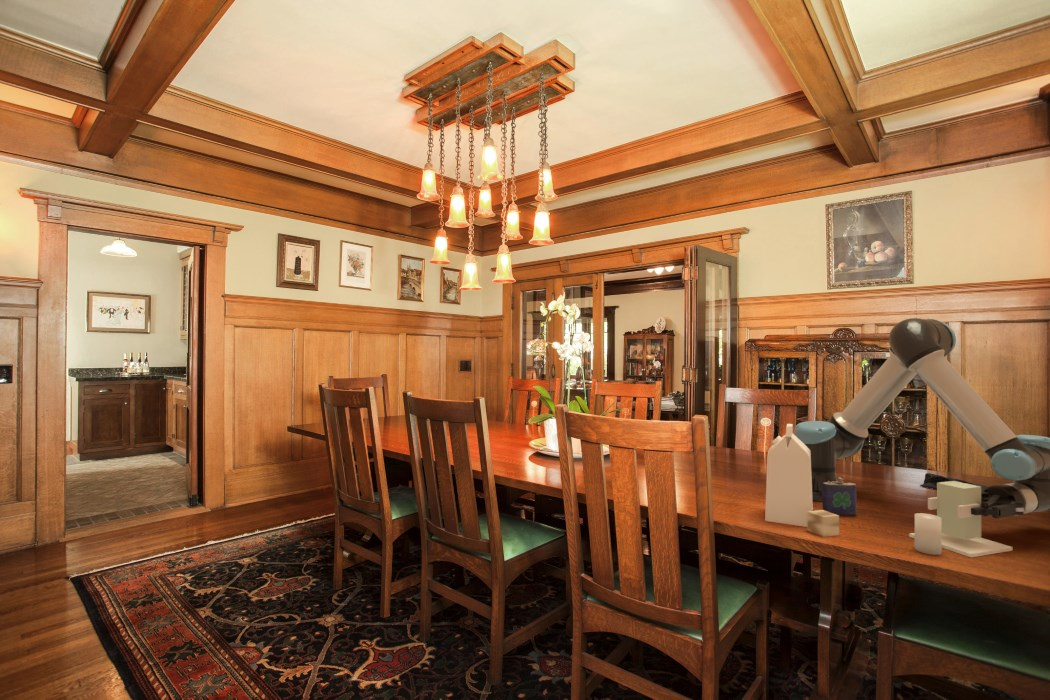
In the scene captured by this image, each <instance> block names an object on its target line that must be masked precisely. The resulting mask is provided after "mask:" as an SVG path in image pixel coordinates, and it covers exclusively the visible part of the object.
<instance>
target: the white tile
mask: <svg viewBox="0 0 1050 700" xmlns="http://www.w3.org/2000/svg"><path fill="white" fill-rule="evenodd" d="M908 537H909V538H912V539H914V540H915V532H911V533H908ZM942 549H944V550H947V551H950V552H953V553H956V554H959V555H963V556H965V557H968V558H970V559H971V558H977V557H981V556H982V557H983V556H989V555H994V554H1001V553H1005V552H1011V551H1013V546H1011V545H1006V544H1003V543H1000V542H997V541H995V540H994V541H992V540H990V539H987V538H984V537H978V538H972V539H965V540H963V539H960V538H957V537H954V536H950V535H947V534H944V533H942Z"/></svg>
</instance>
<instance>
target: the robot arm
mask: <svg viewBox="0 0 1050 700" xmlns="http://www.w3.org/2000/svg"><path fill="white" fill-rule="evenodd" d="M888 336H889V337H888V342H889V348H888V351H889V357H887V359H886V360H885V361H884V362H883V363H882V365H881V366H880V367H879V368H878V370H877V371H876V372H875V373H874V374H873V375H872V376H871V378H870V379H869V380H868V381H867V382H866V384H865V385H863V387H862V388H861V390H860V391H859V392H858V393H857V394H856V395H855V397H853V399H851V401H850V402H849V403H848V405H847V406H846V407H845V408H844V409H843V410H842V411H837V412H834V413H833V414H832V416H830V418H829V419H828V420H827V421H823V420H811V421H808V420H807V421H802V422H799V423H797V424H796V425H795V427H794V433H793V434H794V435H795V436H796V437H797V438H798V439H799V440H800V441H802V442H803V443H804V444H805V445H806V446H807V447H808V448H809V450H810V453H811V475H812V498H813V501H816V502H823V492H822V488H823V487H822V484H823V483H825V482H828V481H829V482H832V481H834V482H835V481H837V480H838V477H837V473H836V460H839V459H847V458H850V457H852V456H854V455H856V454H858V453H859V452H860V451H861V450H862V449H863V447H864V444H865V440H866V439H867V438H868V437H869V431H868V429H869V427H870V426H871V425H872V424H873V423H874V422H875V421H876V420H877V419H878V418H879V416H880V415H881V414H882V413H883V412H884V411H885V410H886V409H887V408H888V407H889V405H890V404H891V403H892V402H893V401H894V400H895V399H896V398H897V396H898V395H900V393H902V391H903V390H904V389H905V387H907V386H908V384H909V383H910V382H911V381H912V380H913V379H914V378H915V377H916V375H918V376H919V378H920V379H921V380H922V381H923V382H924V383H925V385H926V386H927V387H928V388H929V389H930V391H932V393H933V394H934V395H935V396H936V397H937V398H938V399H939V401H940V402H941V403H942V404H943V406H945V408H946V409H947V410H948V411H949V413H951V414H952V416H953V417H954V418H955V419H956V421H958V423H959V424H960V425H961V427H963V429H964V430H965V431H966V432H967V433H968V434H969V436H970V437H971V439H973V440H974V442H975V443H977V445H978V446H979V447H980V448H981V450H982V451H983V452H984V453H985V455H987V456H988V458H989V459H990V466H991V468H992V471H994V473H995V474H996V475H997V476H999V477H1000V478H1002V479H1004V480H1007V481H1013V482H1011V483H1003V484H995V485H990V486H987V487H988V488H986V489H985V490H984V491H983V492H981V507H980V504H977V503H975V504H967V505H959V506H958V518H966V517H974V516H980V515H981V516H983V517H988V516H991V517H992V518H993V519H1001V518H1006V517H1007V518H1008V517H1011V516H1015V517H1018V516H1023V515H1024V514H1029V513H1038V512H1047V511H1050V437H1048V436H1042V435H1034V434H1017V435H1016V434H1015V432H1013V431H1012V430H1011V429H1010V427H1008V425H1007V424H1006V423H1005V422H1004V421H1003V420H1002V419H1001V418H1000V416H999V415H998V414H997V413H996V412H995V411H994V410H993V409H992V408H991V406H989V404H988V403H987V402H986V401H985V400H984V399H983V398H982V397H981V396H980V395H979V393H978V392H977V391H976V390H975V389H974V388H973V387H972V385H971V384H970V383H969V382H968V381H967V380H966V379H965V378H964V377H963V376H962V375H961V374H960V372H958V370H957V369H956V368H955V367H954V366H953V365H952V364H951V363H950V361H949V360H948V359H947V358H946V356H947V355H949V354H950V353H951V352H952V351H953V350H954V348H955V346H956V342H957V338H956V333H955V331H954V330H953V328H952V327H951V326H950V325H948V324H947V323H945V322H943V321H941V320H938V319H934V318H918V317H917V318H916V317H912V318H906V319H903V320H901V321H899V322H898V323H896V324H895V325H894V326H893V327H892V329H891V330H890V332H889V335H888ZM834 482H832V483H834ZM927 510H929V511H932V510H937V496H936V497H935V496H934V497H927Z"/></svg>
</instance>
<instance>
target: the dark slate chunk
mask: <svg viewBox="0 0 1050 700" xmlns="http://www.w3.org/2000/svg"><path fill="white" fill-rule="evenodd" d="M948 481H957V482H962V483H966V484H971V485H976V486H980V487H981V492H983V491H984V490H985V489H986V488H988V487H989V486H987V485H982V484H978V483H973V482H969V481H965V480H962V479H959V478H953V477H947V476H946V477H945V476H942V475H939V474H935V473H931V472H926V473H925V475H924V480H923V483H922V484H920V485H919V486H920V487H921V486H923V487H922V488H924V487H928V488H927V489H930V488H933V489H932V490H934V489H937V483H939V482H948Z"/></svg>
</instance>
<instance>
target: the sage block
mask: <svg viewBox="0 0 1050 700" xmlns="http://www.w3.org/2000/svg"><path fill="white" fill-rule="evenodd" d="M936 497H937V509H936V516H939V517H941V530H942V533H944V534H947V535H950V536H954V537H957V538H960V539H963V540H965V539H972V538H978V537H980V538H982V515H980V516H974V517H966V518H958V506H959V505H967V504H975V503H977V504H980V507H981V487H980V486H976V485H971V484H966V483H962V482H957V481H948V482H939V483H937V490H936Z"/></svg>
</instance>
